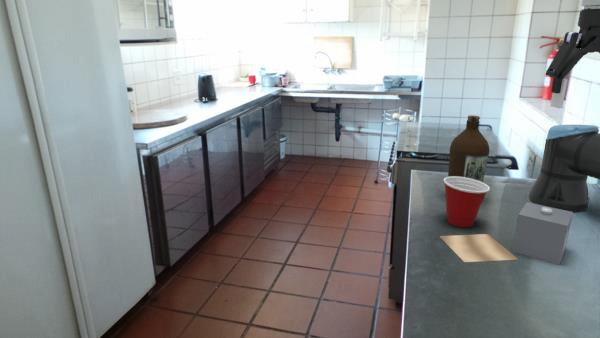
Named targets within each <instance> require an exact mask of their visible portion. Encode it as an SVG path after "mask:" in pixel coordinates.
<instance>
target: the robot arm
mask: <svg viewBox="0 0 600 338" xmlns="http://www.w3.org/2000/svg"><path fill="white" fill-rule="evenodd" d="M580 5H581V7H583V9H581V10H580V11H579V16H578V22H577V26H578V27H579V30H578V32H577V31H576V32H575V31H574V32H573V31H567V32H566V33H565V34H564V38H563V41H562V43H561V45H560V47H559V48H558V51H557V52H556V54H555V56H554V57H553V59H552V60H551V62H550V65H549V66H548V68H547V69H546V72H545V75H546V76H549V77H550V78H552V85H551V88H550V91H551V93H552V95H551V100H550V107H552V108H557V109H563V105H564V100H565V95H566V90H567V85H568V80H569V79H568V78H565V77H566V76H568V74H569V73H570V72H571V71H572V70H573V69H574V67H575V66H576V65H577V64H579V62H580V60H581V59H582V58H583V57H584V56H586V55H587V54H589V53H590V54H591V53H592V54H593V53H599V54H600V0H581V4H580ZM599 132H600V129H599V126H597V125H591V124H558V125H557V124H556V125H553V126H551V127H550V128H549V129H548V133H547V136H546V138H545V143H544V149H543V154H542V161H541V165H540V166H541V167H540V170H539V171H540V172H539V174H538V177H537V178H536V179H535V181H534V183H533V185H532V187H530V189H529V194H528V199H529V200H530V201H531V203H533V204H538V205H543V206H547V207H552V208H556V209H561V210H566V211H570V212H573V213H574V212H575V213H576V212H577V213H578V212H584V211H586V210H587V209H589V205H590V201H591V200H590V197H589V189H588V188H589V187H588V181H587V180H588V177H590V178H594V179H596V180H600V133H599Z"/></svg>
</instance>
